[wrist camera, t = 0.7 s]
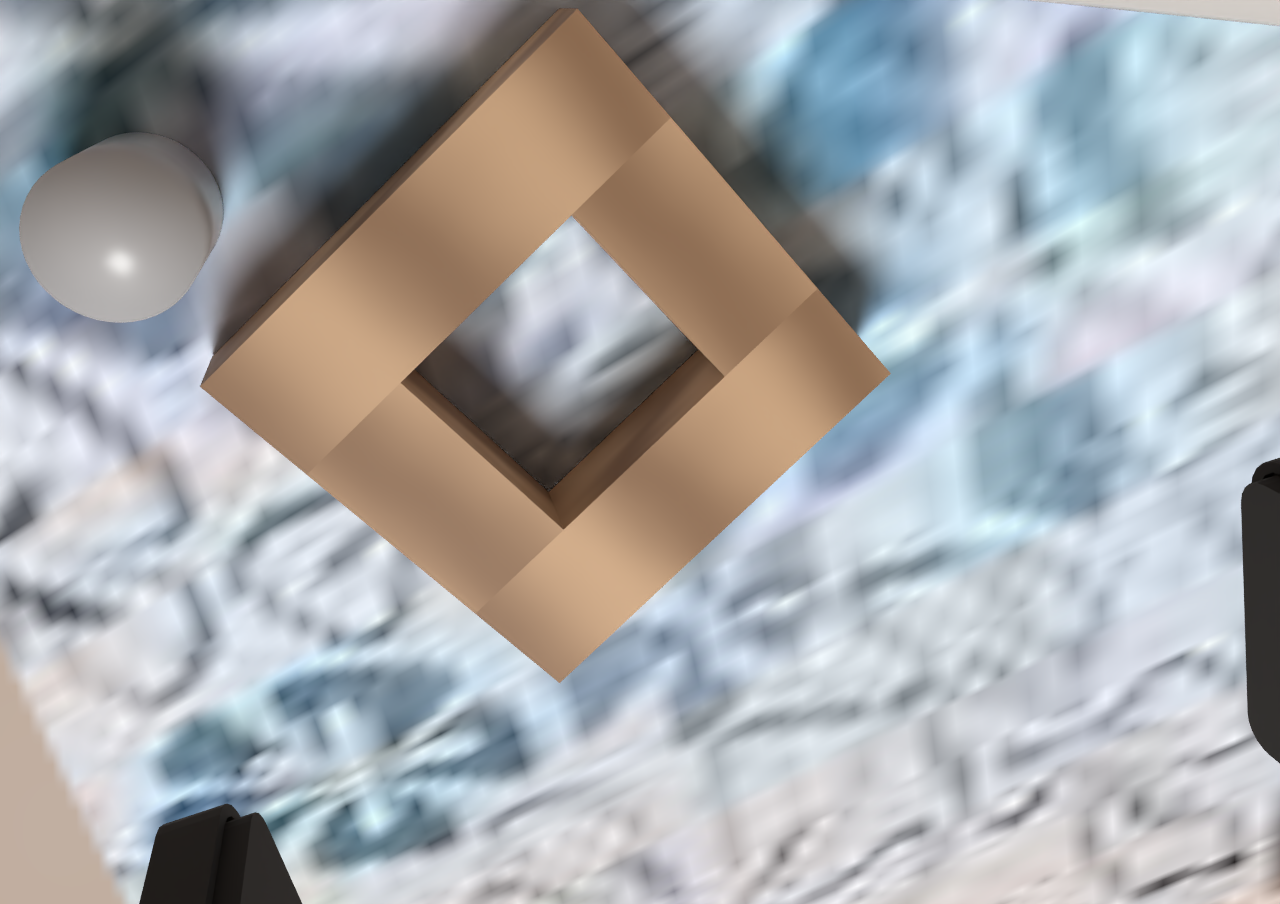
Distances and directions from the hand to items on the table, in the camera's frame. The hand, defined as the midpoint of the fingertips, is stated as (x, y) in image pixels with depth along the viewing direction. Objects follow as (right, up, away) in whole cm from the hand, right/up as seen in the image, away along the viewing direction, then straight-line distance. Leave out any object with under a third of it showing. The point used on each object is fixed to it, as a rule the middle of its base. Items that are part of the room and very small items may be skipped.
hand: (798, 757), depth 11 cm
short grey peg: (-15, +10, +22) cm, 28 cm away
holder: (-4, +6, +26) cm, 27 cm away
